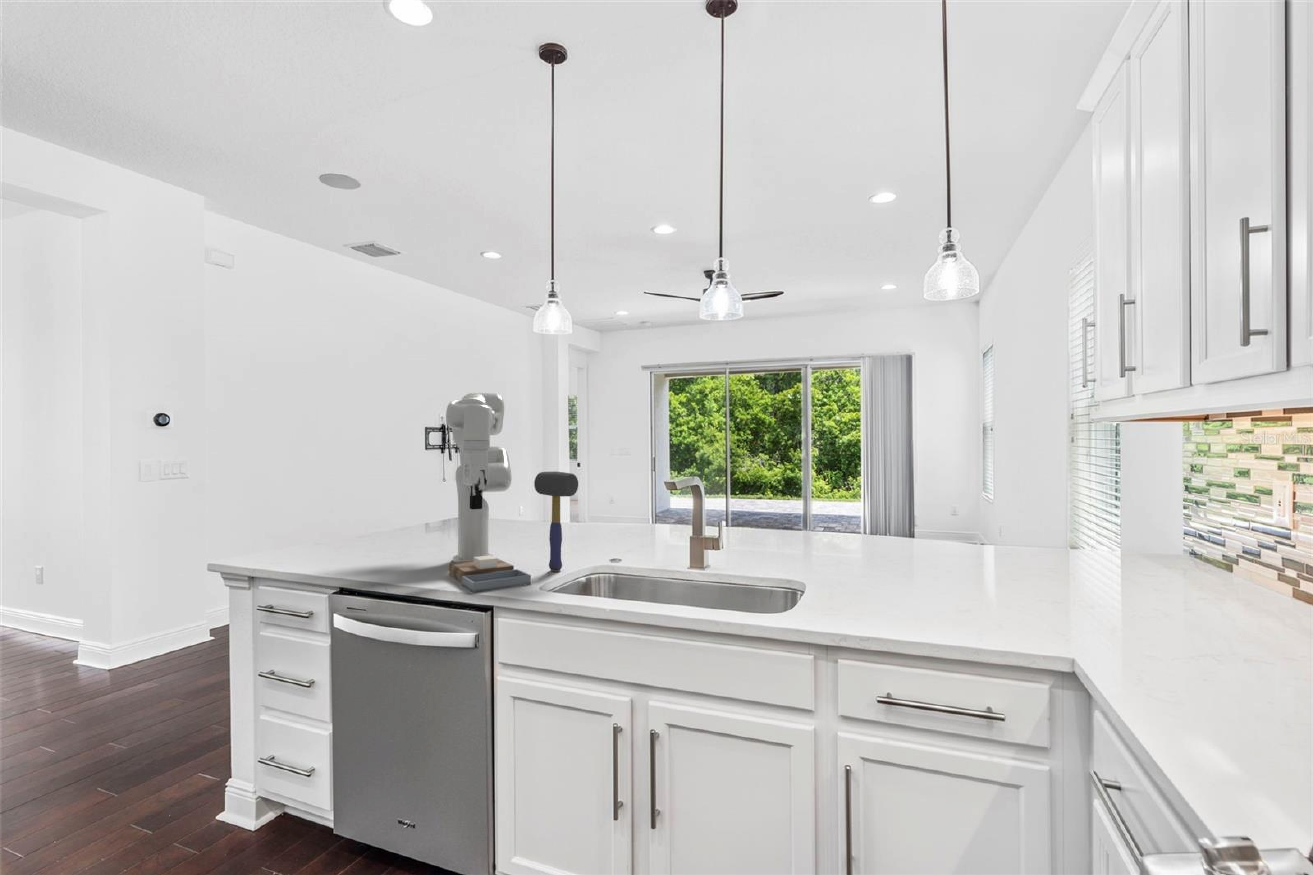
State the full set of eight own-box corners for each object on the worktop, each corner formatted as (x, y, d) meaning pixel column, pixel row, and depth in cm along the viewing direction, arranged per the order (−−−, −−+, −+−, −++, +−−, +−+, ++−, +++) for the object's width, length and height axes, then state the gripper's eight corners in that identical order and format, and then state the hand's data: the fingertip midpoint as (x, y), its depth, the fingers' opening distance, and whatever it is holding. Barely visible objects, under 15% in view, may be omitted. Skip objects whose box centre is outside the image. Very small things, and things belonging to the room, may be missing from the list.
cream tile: (473, 565, 176) (473, 557, 176) (490, 563, 179) (490, 555, 179) (479, 569, 172) (479, 560, 172) (497, 567, 175) (497, 558, 174)
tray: (461, 585, 167) (462, 576, 167) (517, 577, 177) (517, 569, 177) (473, 592, 160) (473, 582, 160) (530, 584, 169) (530, 575, 169)
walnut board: (449, 575, 179) (449, 563, 179) (495, 569, 187) (495, 557, 187) (464, 584, 168) (465, 571, 168) (513, 578, 176) (513, 565, 176)
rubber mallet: (579, 571, 186) (580, 471, 186) (563, 576, 179) (564, 472, 179) (547, 566, 192) (548, 470, 192) (531, 570, 186) (532, 471, 186)
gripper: (455, 446, 185) (454, 507, 185) (472, 447, 173) (472, 512, 173) (479, 446, 190) (479, 505, 190) (498, 447, 177) (497, 510, 178)
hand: (475, 508), depth 181 cm, fingers closed
